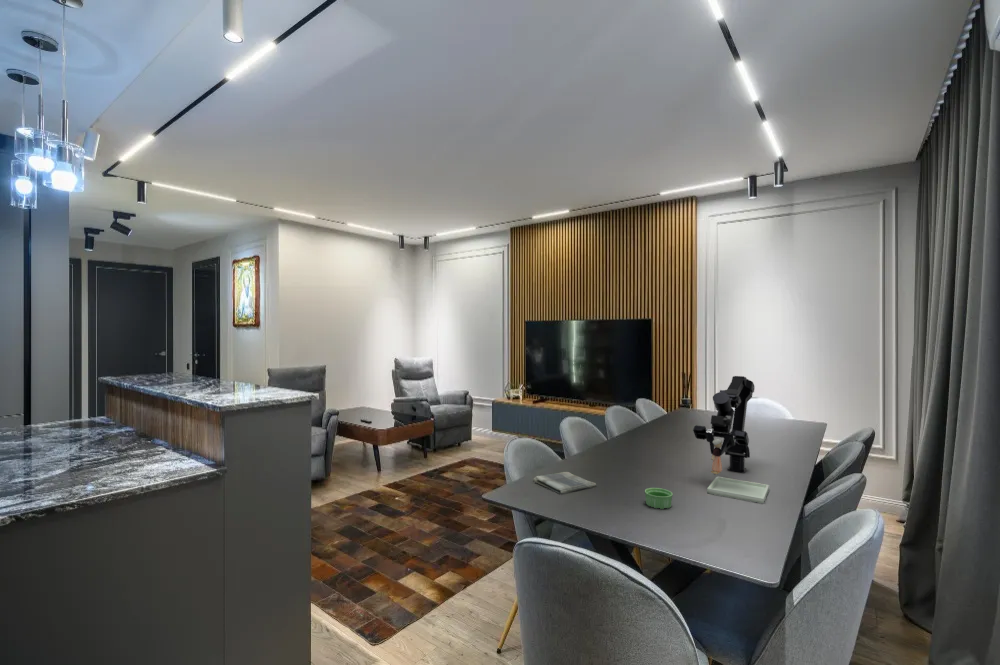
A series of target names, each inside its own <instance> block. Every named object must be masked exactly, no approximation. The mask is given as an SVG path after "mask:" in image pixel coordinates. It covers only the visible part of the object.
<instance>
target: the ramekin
mask: <svg viewBox="0 0 1000 665" xmlns="http://www.w3.org/2000/svg"><path fill="white" fill-rule="evenodd" d="M644 494H645V495H644V496H645V503H646V505H647V507H650V506H651V508H652V507H654V509H657V508H660V509H659V510H665V509H664V508H667V509H670V508H671V507H672V500H673V499H672V498H673V494H674V493H673V492H672V491H670V490H668V489H665V488H661V487H648V488H645V490H644Z"/></svg>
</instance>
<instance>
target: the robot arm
mask: <svg viewBox="0 0 1000 665" xmlns="http://www.w3.org/2000/svg"><path fill="white" fill-rule="evenodd" d="M755 387H756V386H755V384H754V382H753V381H751V380H750V379H748V378H747V377H746V376H742V375H734V376H732V378H731V382H730V383H729V385H728V386H727V389H725V390H722V389H719V391H718V392H717V393H715V394H713V396H712V402H713V404H714V407H715V410H716V412H717V413H716V415H714V414H713V415H711V417H710V425H711V429H709V428H707V427H706V426H705V425H698V424H696V425H695V426H693V429H692V431H693V433H694V437H695V439H698V440H702V441H703V440H704V441H705V440H706V442H707V443H709V449H710V454H711V455H712V454H713V450H714V448H715V446H714V444H713V443H712V442H713V440H715V438H716V437H717V438H719V439H720V438H721V439H723V440H722V443H721V444H722V446H721V448H720V449H721V450H720V455H721V456H722V455H725V456H729V466H728V468H727V469H726V470H727V471H731V472H737V473H745V472H746V471H747V467H745V466H746V465H745V464H746V463H745V461H746V460H745V459H748V458H750V457H751V456H750V455H751V452H750V447H749V442H750V439H749V435H748V432H747V431H745V424H746V417H747V416H746V415H747V408H748V407H747V406H748V402H749V401H750V400H751V399H752V398H753V393H755Z"/></svg>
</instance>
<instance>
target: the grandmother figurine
mask: <svg viewBox="0 0 1000 665" xmlns="http://www.w3.org/2000/svg"><path fill="white" fill-rule="evenodd" d="M712 443H713V444H714V450H713V454H711V455H712V456H711V458H710V460H711V461H712V465H711V471H710V473H711V474H714V475H719V474H721V472H723V463H722V458H721V457H722V455H720V450H721V447H722V444H723V440H722V438H721V439H720V438H719V437H717V438H714V440H713V442H712Z"/></svg>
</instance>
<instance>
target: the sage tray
mask: <svg viewBox="0 0 1000 665" xmlns="http://www.w3.org/2000/svg"><path fill="white" fill-rule="evenodd" d="M768 491H769V492H770V484H764V483H759V482H754V481H748V480H741V479H736V478H729V477H725V476H716V477H715V478H714V479H713V481H712V482H711V483H710V484H709V486H708V487H707V488H706V493H707V494H709V495H713V494H714V495H715V496H718V495H719V496H720V497H724V498H730V499H736V500H741V501H745V502H750V501H751V502H750V503H755V502H758V503H757V504H761V503H763V504H762V505H764V504H765V502H764V501H766V499H767V497H766V496H768V494H769V492H768ZM719 496H718V497H719Z"/></svg>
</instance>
